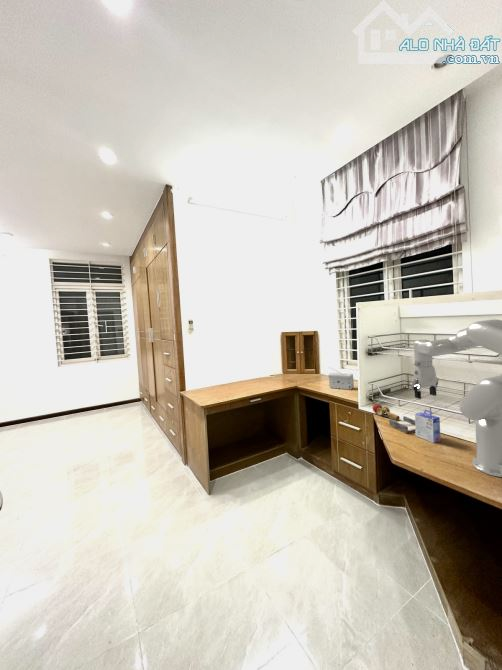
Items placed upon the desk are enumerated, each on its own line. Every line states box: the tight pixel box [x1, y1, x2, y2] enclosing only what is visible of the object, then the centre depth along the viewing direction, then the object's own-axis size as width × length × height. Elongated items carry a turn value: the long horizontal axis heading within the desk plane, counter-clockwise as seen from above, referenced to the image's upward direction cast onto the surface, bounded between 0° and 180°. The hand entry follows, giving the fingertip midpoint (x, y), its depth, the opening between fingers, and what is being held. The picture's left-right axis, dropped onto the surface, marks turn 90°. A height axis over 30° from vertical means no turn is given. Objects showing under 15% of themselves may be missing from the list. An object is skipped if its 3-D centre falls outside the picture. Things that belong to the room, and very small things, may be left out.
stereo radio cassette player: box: [327, 366, 355, 390], centre depth 233 cm, size 21×8×20 cm, turn 53°
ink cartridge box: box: [414, 409, 442, 444], centre depth 133 cm, size 10×6×14 cm, turn 22°
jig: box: [388, 415, 416, 435], centre depth 147 cm, size 12×11×4 cm
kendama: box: [372, 403, 400, 421], centre depth 166 cm, size 8×6×18 cm
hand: (425, 396), depth 132 cm, fingers open, 9 cm apart
